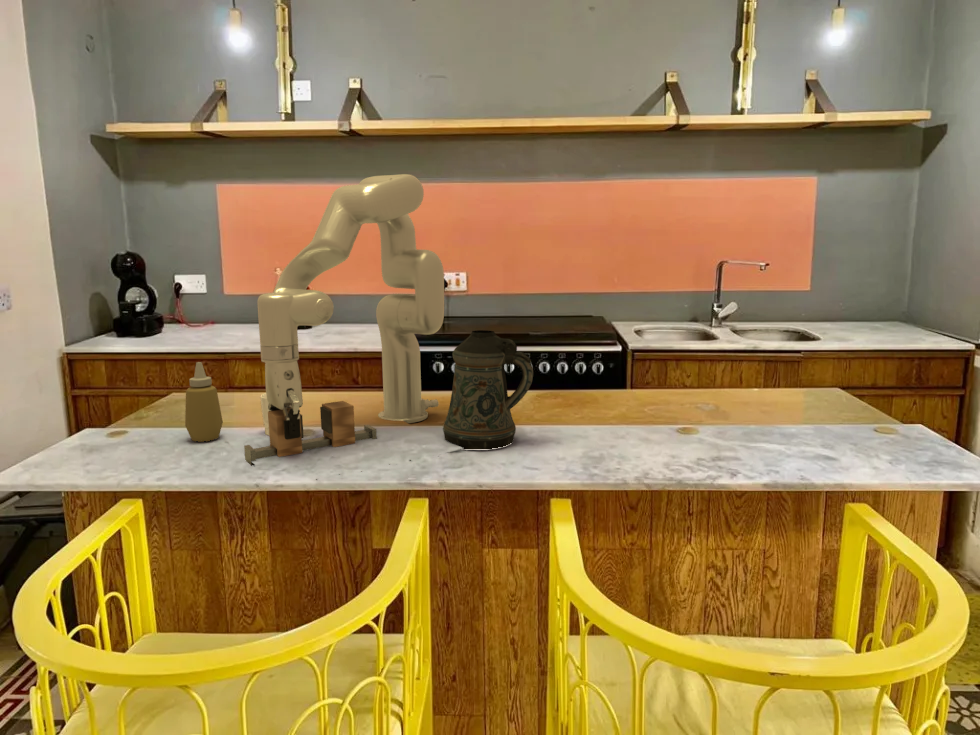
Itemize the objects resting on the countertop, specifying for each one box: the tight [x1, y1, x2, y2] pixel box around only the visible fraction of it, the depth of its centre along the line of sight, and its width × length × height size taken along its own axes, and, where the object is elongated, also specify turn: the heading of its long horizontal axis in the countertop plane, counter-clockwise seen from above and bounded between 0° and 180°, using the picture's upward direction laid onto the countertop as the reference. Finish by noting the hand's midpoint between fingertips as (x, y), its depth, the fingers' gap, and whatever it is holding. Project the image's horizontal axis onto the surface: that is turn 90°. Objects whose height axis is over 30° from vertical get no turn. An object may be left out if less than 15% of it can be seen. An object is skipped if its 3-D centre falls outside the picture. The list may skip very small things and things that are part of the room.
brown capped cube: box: [268, 410, 304, 458], centre depth 151 cm, size 6×6×8 cm
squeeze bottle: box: [184, 361, 224, 443], centre depth 163 cm, size 8×8×18 cm
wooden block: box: [319, 400, 356, 448], centre depth 157 cm, size 6×6×8 cm
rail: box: [243, 424, 378, 467], centre depth 155 cm, size 28×4×3 cm, turn 124°
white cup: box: [259, 392, 286, 436], centre depth 166 cm, size 8×8×10 cm
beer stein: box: [442, 329, 534, 449], centre depth 160 cm, size 16×19×25 cm
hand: (284, 432), depth 151 cm, fingers open, 9 cm apart
